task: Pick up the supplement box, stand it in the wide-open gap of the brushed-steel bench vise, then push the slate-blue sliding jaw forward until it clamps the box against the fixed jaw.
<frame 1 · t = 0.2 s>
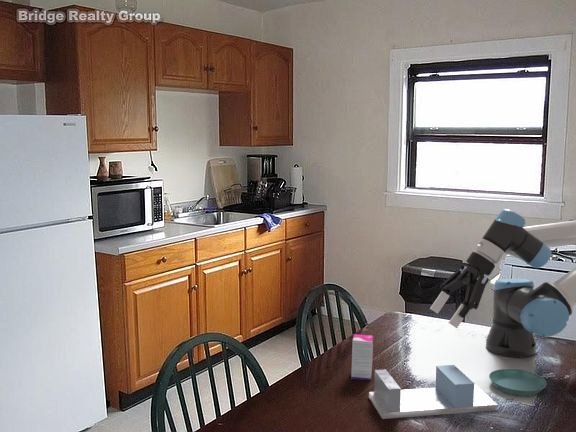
hand: (442, 318, 169), 16 cm above the table, tool tilted 35°, fingers open, 13 cm apart
sliding jaw: (454, 385, 150), point 5 cm above the table, slide at 0.0 cm
saucer: (516, 388, 160), on the table
supplement box: (362, 376, 168), on the table
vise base: (431, 403, 150), on the table
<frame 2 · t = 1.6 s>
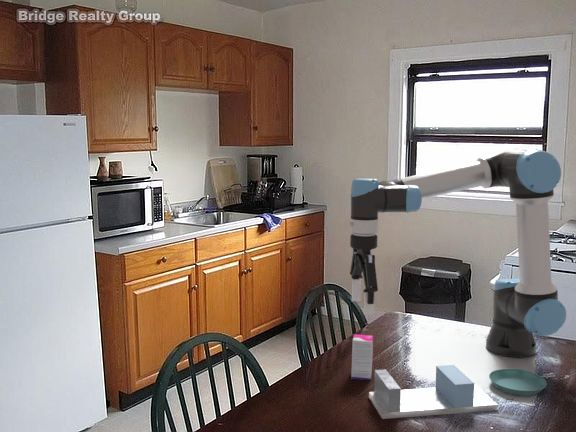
hand: (362, 307, 165), 20 cm above the table, tool pointing down, fingers open, 13 cm apart
nothing on the table moved.
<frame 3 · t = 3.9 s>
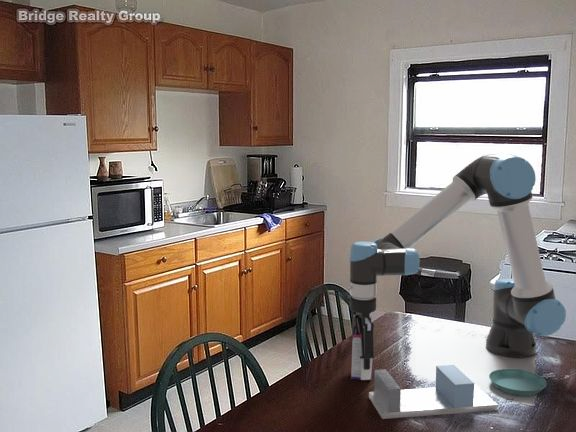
hand: (362, 373, 168), 1 cm above the table, tool pointing down, fingers closed on supplement box, 7 cm apart
supplement box: (361, 376, 168), on the table, touching gripper
everything else where it was.
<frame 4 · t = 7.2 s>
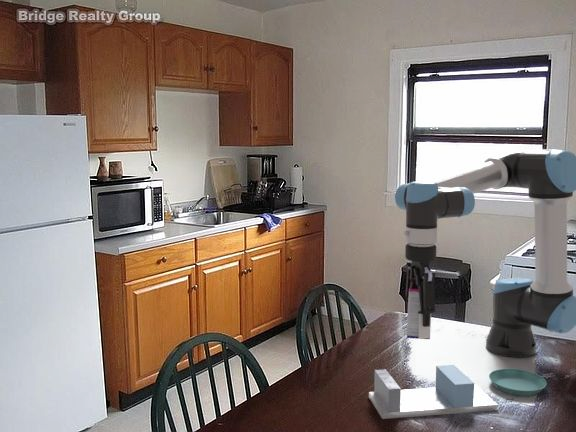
hand: (418, 332, 147), 19 cm above the table, tool pointing down, fingers closed on supplement box, 7 cm apart
supplement box: (418, 335, 148), point 18 cm above the table, touching gripper
everything else where it was.
when the fingers open (3 cm above the table, at t = 10.6 s): supplement box drops 1 cm, resting on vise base.
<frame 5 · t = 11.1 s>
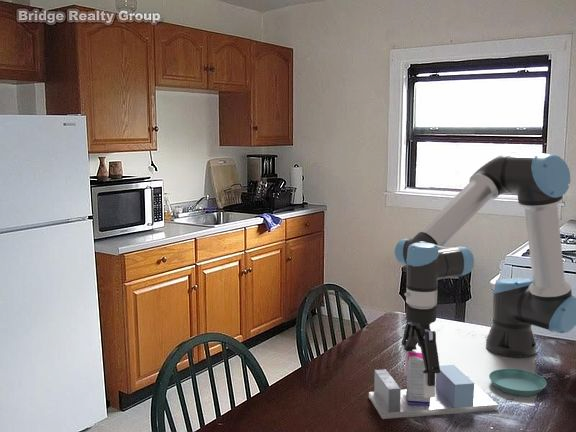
hand: (419, 385, 149), 5 cm above the table, tool pointing down, fingers open, 13 cm apart
supplement box: (418, 399, 150), point 1 cm above the table, touching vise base
everything else where it was.
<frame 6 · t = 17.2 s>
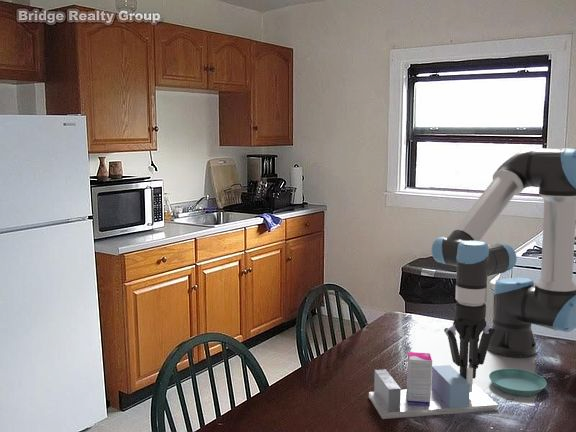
hand: (467, 390, 151), 3 cm above the table, tool pointing down, fingers closed
sliding jaw: (449, 385, 150), point 5 cm above the table, slide at 1.2 cm, touching gripper
everything else where it was.
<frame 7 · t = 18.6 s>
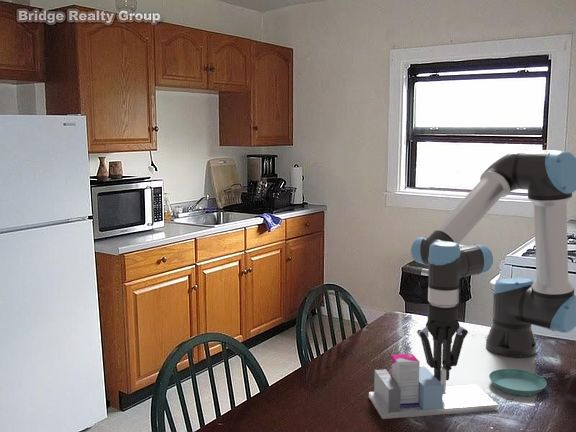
hand: (441, 391, 150), 3 cm above the table, tool pointing down, fingers closed
sliding jaw: (424, 387, 149), point 5 cm above the table, slide at 8.1 cm, touching gripper, supplement box
supplement box: (404, 401, 148), point 1 cm above the table, touching sliding jaw, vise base
everything else where it was.
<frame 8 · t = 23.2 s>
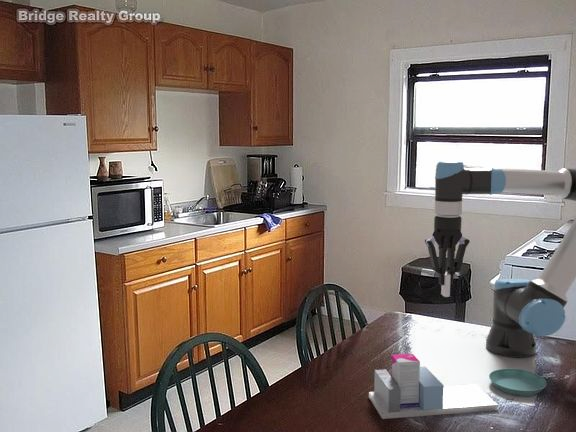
hand: (445, 295, 169), 22 cm above the table, tool pointing down, fingers closed
sliding jaw: (424, 387, 149), point 5 cm above the table, slide at 8.0 cm, touching supplement box
everything else where it was.
at the end: sliding jaw slide at 8.0 cm; supplement box 0.4 cm from the target spot on the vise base, point 1.4 cm above the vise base's base; supplement box tilted 1° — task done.
